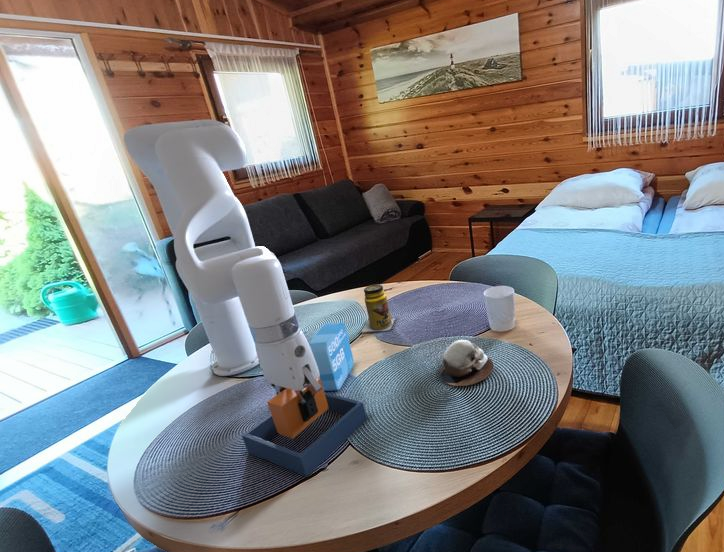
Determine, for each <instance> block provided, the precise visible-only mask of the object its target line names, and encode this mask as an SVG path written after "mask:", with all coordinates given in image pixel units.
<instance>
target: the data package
mask: <svg viewBox="0 0 724 552" xmlns="http://www.w3.org/2000/svg"><path fill="white" fill-rule="evenodd" d="M308 343H309V346H310V348H311V350H312V353H313V355H314V358H315V361H316V364H317V367H318V370H319V374H320V377H319V378H320V379H321V383H322V386H323V390H324V392H333V391H340V389H341V388H342V387H343V385H344V383H345V381H346V379H347V377H348V376H349V374H350V372H351V371H352V369H353V367H354V362H355V359H354V356H353V352H352V348H351V344H350V340H349V336H348V332H347V328H346V325H345V323H344V322H330V323H323V324H322V326H321V327H320V328H319V330H318V331H317V332H316V333H315V335H313V337H312V338H311V340H309V341H308Z"/></svg>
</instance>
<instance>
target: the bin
mask: <svg viewBox="0 0 724 552" xmlns="http://www.w3.org/2000/svg"><path fill="white" fill-rule="evenodd" d="M324 393H325V397H326V400H327V404H328V407H329V409H327V410H326V411H328V412H332V413H334V414H339V415H342V417H341V418H339V419H338V420H337V421H336V422H335V423H333V425H331V427H329V428H328V429H327V430H326V431H325V432H324V433H322V434H321V435H320V436H319V437H318V438H317V439H316V440H315V441H313V442H312V443H311V444H310V445H309V446H308V447H307V448H305V450H303V451H302V452H301V453H300V452H298V451H294V450H292V449H290V448H287V447H284V446H282V445H279V444H275V443H273V442H270V441H269V440H270V439H271V438H273V437H274V436H275V435H276V434H278V432H277V429H276V427H275V424H274V421H273V418H272V415H271V413H270V414H268V416H266V417H265V418H263V419H262V420H260V421H259V422H257V424H255V425H254V426H252V427H251V428H249V429H248V430H247V431H245V433H243V434H242V435H241V439H242V441H243V444H244V446H245V449H246V451H247V453H248V454H251V455H252V456H255V457H258V458H260V459H263V460H265V461H268V462H270V463H271V464H272V463H273V464H275V465H276V466H277V465H278V466H279V467H282V468H285V469H287V470H290V471H292V472H294V473H297V474H299V475H301V476H304V477H308V476H310V474H311V473H312V472H313V471H314V470H315V469H317V468H318V467H319V466H320V465H321V464H322V463H323V462H324V461H325V460H326V459H327V458H328V457H329V456H330V455H331V454H333V452H334V451H335V450H336V449H337V448H338V447H339V446H340V445H342V443H344V442H345V441H346V440H347V439H348V438H349V437H350V436H351V435H352V434H353V433H354V432H355V431H356V430H357V429H358V428H359V427H360V426H362V424H364V423H365V422H366V421H367V420H368V417H367V413H366V409H365V405H364V402H363V401H359V400H355V399H352V398H348V397H344V396H341V395H338V394H334V393H329V392H327V391H324Z"/></svg>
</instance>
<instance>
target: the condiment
mask: <svg viewBox="0 0 724 552" xmlns="http://www.w3.org/2000/svg"><path fill="white" fill-rule="evenodd" d="M363 293H364V303H365V308H366V312H367V317H368V319H367V320H366V322H365V324H364V325H363V326H364V327H363V328H362V330H361V331H360V333H370V332H384V331H390V330H391V329H392V327H393V325H394V323H395V321H396V318H394V317H391V313H390V308H389V303H388V298H387V294H386V293H385V290H384V287H383V284H379V283H376V284H374V283H373V284H370V285H367V286H366V287H364V288H363Z"/></svg>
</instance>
